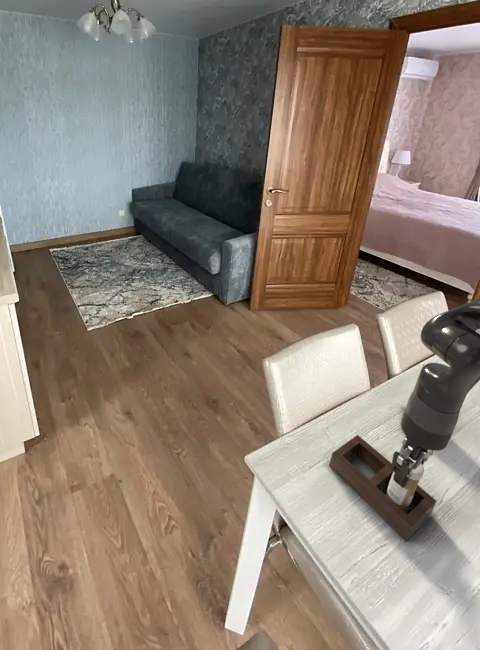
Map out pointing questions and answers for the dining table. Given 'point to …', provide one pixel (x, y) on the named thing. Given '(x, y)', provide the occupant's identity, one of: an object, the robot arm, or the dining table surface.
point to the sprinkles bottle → (404, 489)
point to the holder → (380, 486)
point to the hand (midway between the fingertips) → (406, 476)
